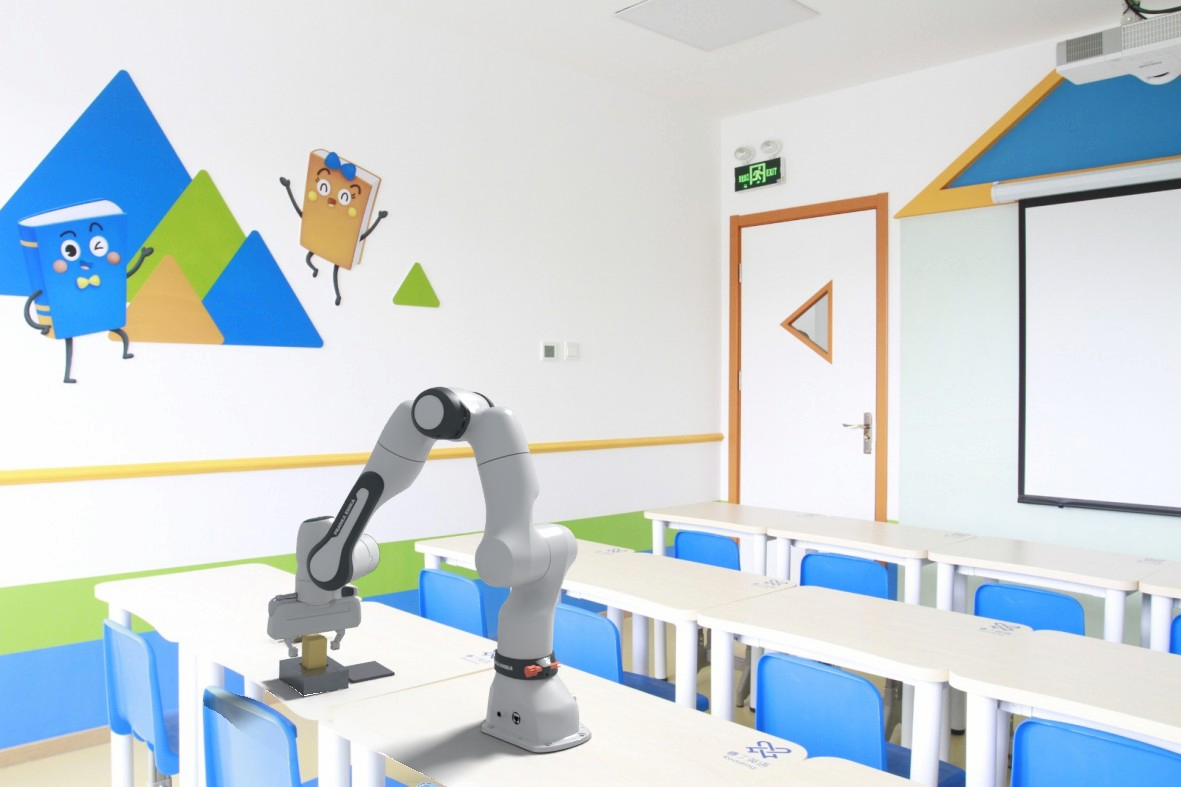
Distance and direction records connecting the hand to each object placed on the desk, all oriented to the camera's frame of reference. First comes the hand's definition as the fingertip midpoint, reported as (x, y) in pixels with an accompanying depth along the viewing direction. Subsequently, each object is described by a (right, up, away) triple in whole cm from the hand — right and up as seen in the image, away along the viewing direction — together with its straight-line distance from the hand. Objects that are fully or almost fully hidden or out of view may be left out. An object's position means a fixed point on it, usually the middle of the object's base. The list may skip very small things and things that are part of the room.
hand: (314, 652), depth 197 cm
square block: (0, -7, 0) cm, 7 cm away
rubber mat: (+9, -7, +8) cm, 14 cm away
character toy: (-13, -6, +31) cm, 34 cm away
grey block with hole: (0, -7, 0) cm, 7 cm away
